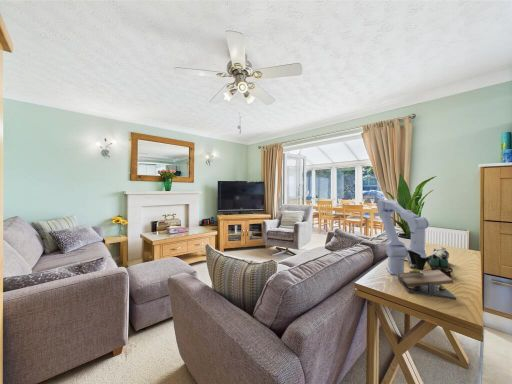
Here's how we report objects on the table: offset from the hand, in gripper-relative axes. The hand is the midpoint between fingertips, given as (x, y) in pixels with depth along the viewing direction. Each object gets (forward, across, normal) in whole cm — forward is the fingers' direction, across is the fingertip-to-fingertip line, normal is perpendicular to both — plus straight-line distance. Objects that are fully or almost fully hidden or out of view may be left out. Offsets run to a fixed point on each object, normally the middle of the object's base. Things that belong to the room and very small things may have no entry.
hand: (417, 267), depth 104 cm
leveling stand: (+9, +3, +2) cm, 10 cm away
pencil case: (+10, -36, +24) cm, 44 cm away
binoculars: (+10, -20, +19) cm, 29 cm away
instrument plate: (+5, +3, +2) cm, 6 cm away
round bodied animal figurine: (+10, -30, +8) cm, 33 cm away
